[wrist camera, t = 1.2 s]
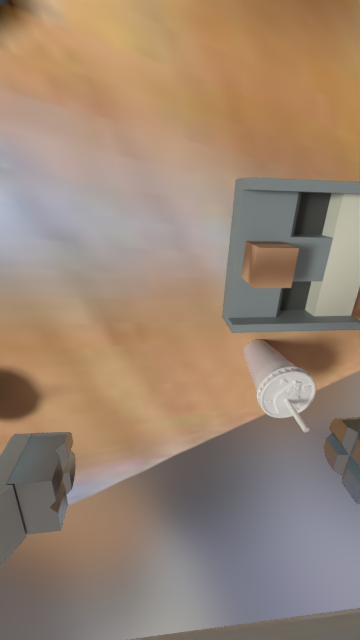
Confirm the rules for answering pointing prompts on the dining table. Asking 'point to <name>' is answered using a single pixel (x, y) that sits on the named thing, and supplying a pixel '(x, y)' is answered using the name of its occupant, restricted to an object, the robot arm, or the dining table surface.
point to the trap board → (312, 261)
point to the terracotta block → (269, 264)
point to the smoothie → (278, 382)
